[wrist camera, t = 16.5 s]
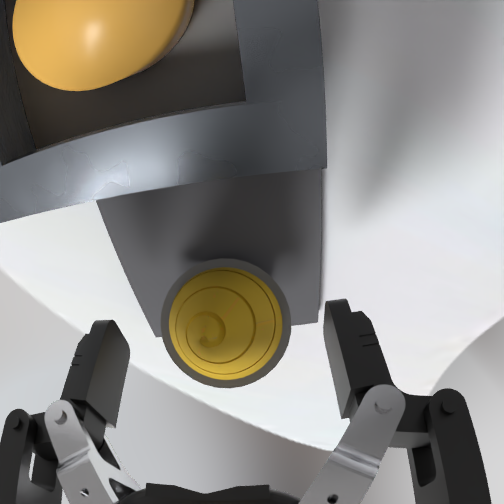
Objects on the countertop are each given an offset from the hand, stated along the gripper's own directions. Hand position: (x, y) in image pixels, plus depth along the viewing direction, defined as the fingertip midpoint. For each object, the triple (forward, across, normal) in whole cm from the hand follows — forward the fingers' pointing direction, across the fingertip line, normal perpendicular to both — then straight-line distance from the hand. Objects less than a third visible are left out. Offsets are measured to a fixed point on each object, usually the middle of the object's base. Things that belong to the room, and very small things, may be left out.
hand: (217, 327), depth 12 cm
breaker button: (+4, +2, -12) cm, 12 cm away
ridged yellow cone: (+4, 0, 0) cm, 4 cm away
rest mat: (+4, 0, 0) cm, 4 cm away
